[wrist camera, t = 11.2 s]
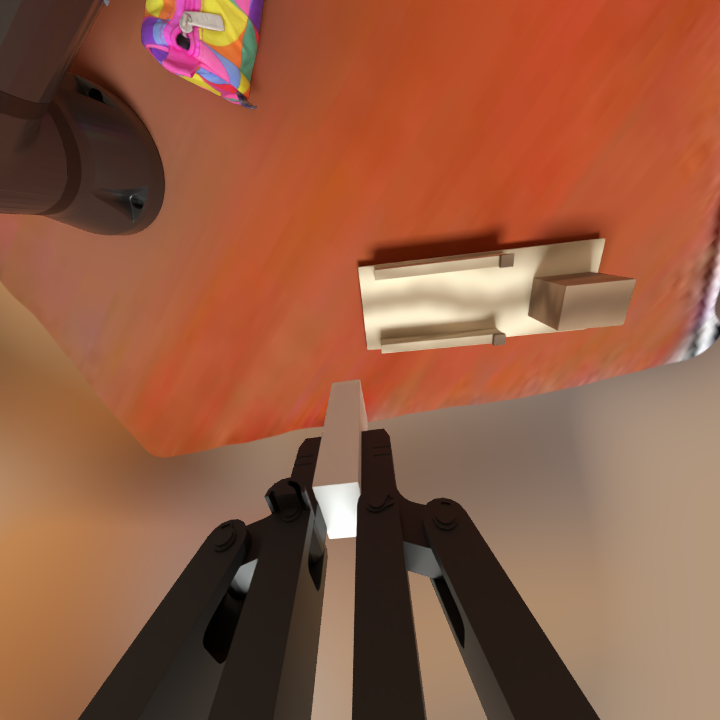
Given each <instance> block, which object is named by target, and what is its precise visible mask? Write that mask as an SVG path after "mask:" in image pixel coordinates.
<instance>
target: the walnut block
mask: <svg viewBox="0 0 720 720" xmlns="http://www.w3.org/2000/svg"><path fill="white" fill-rule="evenodd" d="M635 282H636V279H633V278H627V277H621V276H614V275H608V274H602V273H596V272H584V273H574V274H565V275H555V276H546V277H537V278H533V282H532V290H531V297H530V304H529V311H528V316H529V317H531V318H533V319H535V320H537V321H539V322H541V323H543V324H545V325H547V326H549V327H551V328H553V329H555V330H557V331H562V330H573V329H584V328H594V327H605V326H616V325H623V324H624V320H625V317H626V313H627V310H628V307H629V303H630V300H631V296H632V293H633V289H634V286H635Z"/></svg>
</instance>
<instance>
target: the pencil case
mask: <svg viewBox="0 0 720 720" xmlns="http://www.w3.org/2000/svg"><path fill="white" fill-rule="evenodd" d="M263 3H264V0H146V5H145V14H144V18H143V22H142V29H141V39H142V43H143V45H144V47H145V48H146V49H147V50H148V51H149V52H150V53H151V54H152V55H153V57H154V58H155V59H156V60H157V61H158V62H159V63H160V64H161V65H162V66H163V67H164V68H166V69H167V70H168V71H170V72H172V73H173V74H175V75H177V76H179V77H182V78H184V79H186V80H188V81H190V82H192V83H194V84H196V85H198V86H200V87H201V88H203V89H205V90H208V91H210V92H212V93H215V94H216V95H218V96H220V97H222V98H224V99H226V100H228V101H230V102H232V103H234V104H241V105H242V106H243V107H246V108H249V109H256V108H257V106H253V105H252V104H250V103H249V102H248V99H249V91H250V81H251V74H252V69H253V66H254V62H255V58H256V53H257V48H258V41H259V32H260V23H261V15H262V9H263Z"/></svg>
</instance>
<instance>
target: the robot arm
mask: <svg viewBox="0 0 720 720" xmlns="http://www.w3.org/2000/svg"><path fill="white" fill-rule="evenodd" d="M109 2H110V0H0V213H9V214H31V215H43V216H46V217H49V218H51V219H54V220H57V221H60V222H62V223H65V224H68V225H71V226H73V227H76V228H79V229H82V230H84V231H87V232H91V233H95V234H101V235H130V234H135V233H137V232H140V231H142V230H144V229H145V228H147V227H148V226H149V225H150V224H151V223H152V222H153V221H154V220H155V218H156V217H157V215H158V213H159V211H160V209H161V206H162V202H163V198H164V173H163V168H162V163H161V160H160V157H159V154H158V151H157V148H156V146H155V144H154V142H153V140H152V138H151V136H150V134H149V132H148V131H147V129H146V128H145V126H144V125H143V123H142V122H141V120H140V119H139V118H138V117H137V115H136V114H135V113H134V112H133V111H132V110H131V109H130V108H129V107H128V106H127V105H126V104H125V103H124V102H123V101H122V100H121V99H119V98H118V97H117V96H116V95H114V94H113V93H111V92H110V91H108V90H106V89H105V88H103V87H101V86H99V85H98V84H96V83H94V82H92V81H90V80H88V79H87V78H85V77H82V76H80V75H78V74H75V73H72V72H69V71H68V70H69V68H70V66H71V64H72V62H73V60H74V59H75V57H76V55H77V53H78V51H79V49H80V47H81V46H82V44H83V42H84V40H85V38H86V36H87V34H88V32H89V31H90V29H91V27H92V25H93V23H94V21H95V19H96V17H97V16H98V14H99V12H100V10H101V8H102V6H103V4H105V5H106V6H108V4H109ZM265 499H266V501H267V503H268V505H269V508H270V510H271V512H272V514H271V515H270V516H268V517H266V518H264V519H262V520H259V521H257V522H254V523H252V524H249V525H247V526H246V525H245V523H244V522H243V521H241V520H239V519H236V520H229V521H227V522H224V523H222V524H221V525H219V526H218V527H217V528H215V529H214V530H213V531H212V533H211V534H210V535H209V536H208V537H207V539H206V540H205V542H204V543H203V544H202V546H201V547H200V549H199V550H198V551H197V553H196V554H195V556H194V557H193V558H192V560H191V561H190V563H189V564H188V565H187V567H186V568H185V570H184V571H183V572H182V574H181V575H180V577H179V578H178V579H177V581H176V582H175V584H174V585H173V587H172V588H171V589H170V591H169V592H168V593H167V595H166V596H165V598H164V599H163V600H162V602H161V603H160V605H159V606H158V607H157V609H156V610H155V612H154V613H153V615H152V616H151V617H150V619H149V620H148V622H147V623H146V624H145V626H144V627H143V629H142V630H141V631H140V633H139V634H138V636H137V637H136V639H135V640H134V641H133V643H132V644H131V646H130V647H129V648H128V650H127V651H126V653H125V654H124V656H123V657H122V658H121V660H120V661H119V662H118V664H117V665H116V667H115V668H114V670H113V671H112V672H111V674H110V675H109V677H108V678H107V679H106V681H105V682H104V683H103V685H102V686H101V688H100V689H99V690H98V692H97V693H96V695H95V696H94V698H93V699H92V701H91V702H90V703H89V705H88V706H87V707H86V709H85V710H84V712H83V713H82V714H81V716H80V717H79V719H78V720H311V712H312V702H313V693H314V682H315V673H316V664H317V654H318V644H319V635H320V625H321V616H322V606H323V596H324V587H325V577H326V567H327V558H328V556H327V548H326V545H325V540H326V531H327V533H328V536H329V539H334V538H345V537H356V569H355V614H354V658H353V699H352V700H353V701H352V720H427V717H426V710H425V702H424V694H423V687H422V679H421V671H420V663H419V656H418V649H417V640H416V632H415V625H414V617H413V609H412V601H411V593H410V585H409V578H408V571H411V572H414V573H418V574H421V575H424V576H428V577H429V578H430V580H431V582H432V585H433V587H434V590H435V592H436V595H437V597H438V599H439V602H440V604H441V607H442V609H443V611H444V614H445V616H446V619H447V621H448V624H449V626H450V629H451V631H452V633H453V636H454V638H455V641H456V643H457V646H458V648H459V651H460V653H461V655H462V658H463V660H464V663H465V665H466V667H467V670H468V672H469V675H470V677H471V680H472V682H473V685H474V687H475V689H476V692H477V694H478V697H479V699H480V702H481V704H482V707H483V709H484V712H485V714H486V716H487V719H488V720H600V719H599V717H598V716H597V714H596V712H595V711H594V709H593V708H592V706H591V705H590V703H589V702H588V700H587V698H586V697H585V695H584V694H583V692H582V691H581V689H580V688H579V686H578V685H577V683H576V681H575V680H574V678H573V677H572V675H571V674H570V672H569V671H568V669H567V667H566V666H565V664H564V663H563V661H562V660H561V658H560V657H559V655H558V653H557V652H556V650H555V649H554V647H553V646H552V644H551V643H550V641H549V640H548V638H547V636H546V635H545V633H544V632H543V630H542V629H541V627H540V626H539V624H538V622H537V621H536V619H535V618H534V616H533V615H532V613H531V612H530V610H529V609H528V607H527V605H526V604H525V602H524V601H523V599H522V598H521V596H520V594H519V593H518V591H517V590H516V588H515V587H514V585H513V584H512V582H511V581H510V579H509V577H508V576H507V574H506V573H505V571H504V570H503V568H502V567H501V565H500V563H499V562H498V560H497V559H496V557H495V556H494V554H493V553H492V551H491V550H490V548H489V546H488V545H487V543H486V542H485V540H484V539H483V537H482V536H481V534H480V532H479V531H478V529H477V528H476V526H475V525H474V523H473V522H472V520H471V518H470V517H469V516H468V514H467V512H466V511H465V510H464V509H463V508H462V506H461V505H460V504H458V503H457V502H455V501H453V500H451V499H446V498H439V499H438V498H437V499H433V500H432V501H430V502H428V503H427V505H423V504H418V503H414V502H411V501H409V500H407V499H405V498H404V497H403V496H402V495H401V494H400V493H399V491H398V490H397V487H396V480H395V472H394V464H393V457H392V450H391V443H390V436H389V435H388V433H387V432H386V431H385V430H384V429H376V430H369V431H368V427H367V416H366V410H365V405H364V399H363V394H362V388H361V383H360V379H358V380H350V381H343V382H336V383H332V387H331V392H330V397H329V402H328V407H327V413H326V418H325V423H324V428H323V433H322V437H316V438H307V439H305V441H304V442H303V443H302V445H301V446H300V447H299V450H298V453H297V459H296V460H295V464H294V467H293V471H292V474H291V478H286V479H282V480H280V481H279V482H277V483H275V484H274V485H273V486H272V487H271V488H270V489H269V490H268V491H267V493H266V495H265Z"/></svg>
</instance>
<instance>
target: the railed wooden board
mask: <svg viewBox="0 0 720 720" xmlns="http://www.w3.org/2000/svg"><path fill="white" fill-rule="evenodd" d="M605 239H606V238H597V239H589V240H580V241H572V242H564V243H555V244H547V245H538V246H530V247H521V248H513V249H504V250H496V251H488V252H479V253H471V254H462V255H454V256H445V257H437V258H428V259H420V260H412V261H403V262H395V263H386V264H378V265H369V266H361V267H358V269H359V278H360V287H361V296H362V305H363V314H364V322H365V331H366V340H367V349H368V350H373V349H381V350H382V353H393V352H403V351H414V350H424V349H435V348H446V347H456V346H467V345H478V344H488V343H492V344H493V345H504V344H505V340H506V337H509V336H520V335H530V334H541V333H551V332H562V331H572V330H562V331H557V330H555V329H553V328H551V327H549V326H547V325H545V324H543V323H541V322H539V321H537V320H535V319H533V318H531V317H529V316H528V311H529V304H530V297H531V290H532V282H533V278H537V277H546V276H555V275H565V274H574V273H584V272H596V273H598V269H599V265H600V261H601V256H602V252H603V247H604V243H605ZM584 329H585V328H584ZM573 330H583V329H573Z"/></svg>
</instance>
